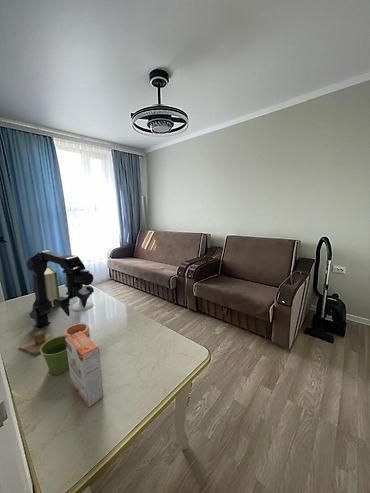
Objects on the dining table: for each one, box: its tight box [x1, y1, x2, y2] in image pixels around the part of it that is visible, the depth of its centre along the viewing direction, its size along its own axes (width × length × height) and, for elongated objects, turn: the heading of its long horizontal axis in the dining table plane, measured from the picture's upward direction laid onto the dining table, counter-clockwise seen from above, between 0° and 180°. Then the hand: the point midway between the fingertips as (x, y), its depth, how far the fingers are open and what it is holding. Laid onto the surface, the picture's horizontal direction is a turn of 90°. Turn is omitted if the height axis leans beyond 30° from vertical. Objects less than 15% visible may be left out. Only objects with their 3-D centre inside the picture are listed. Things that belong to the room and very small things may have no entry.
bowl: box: [63, 322, 90, 337], centre depth 107 cm, size 11×11×4 cm
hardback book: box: [44, 265, 61, 308], centre depth 141 cm, size 18×7×24 cm, turn 45°
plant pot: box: [40, 335, 69, 376], centre depth 86 cm, size 12×12×11 cm
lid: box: [18, 330, 57, 356], centre depth 101 cm, size 12×12×6 cm
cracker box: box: [65, 331, 104, 409], centre depth 74 cm, size 14×6×21 cm, turn 49°
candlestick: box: [71, 267, 94, 312], centre depth 136 cm, size 13×13×30 cm
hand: (76, 311), depth 104 cm, fingers open, 9 cm apart
